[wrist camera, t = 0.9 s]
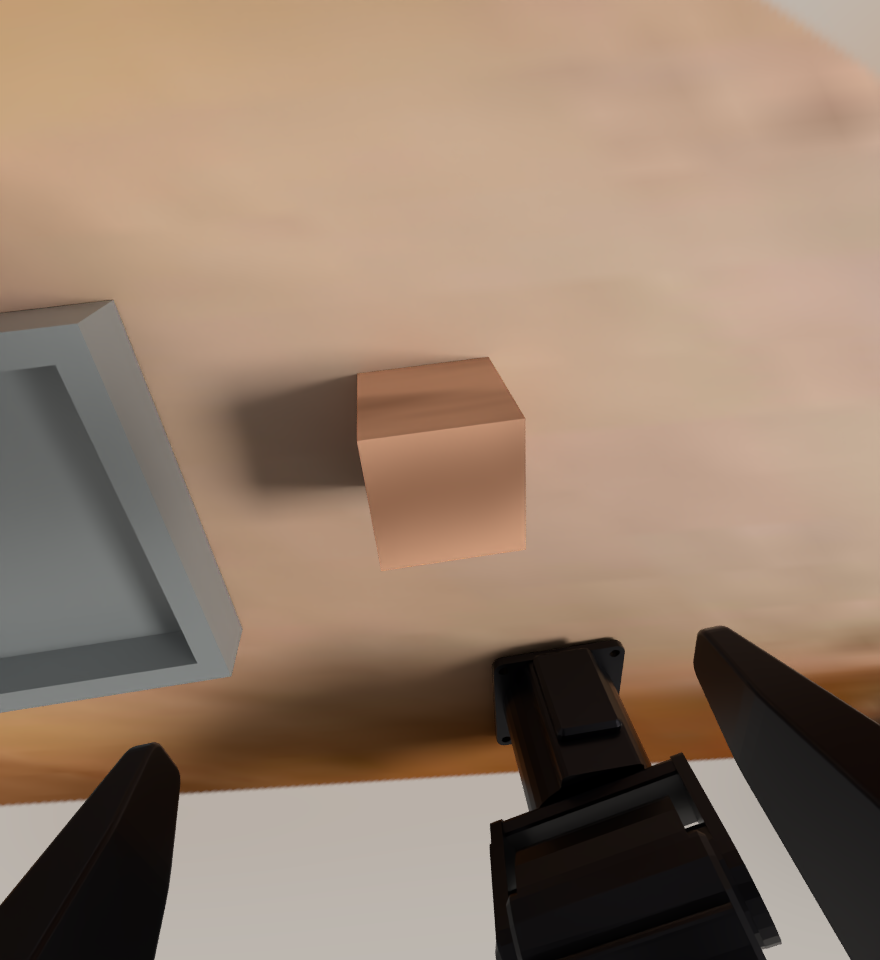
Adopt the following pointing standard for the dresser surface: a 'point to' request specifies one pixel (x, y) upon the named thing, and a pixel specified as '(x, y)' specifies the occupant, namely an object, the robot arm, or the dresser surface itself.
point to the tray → (96, 523)
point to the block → (442, 462)
